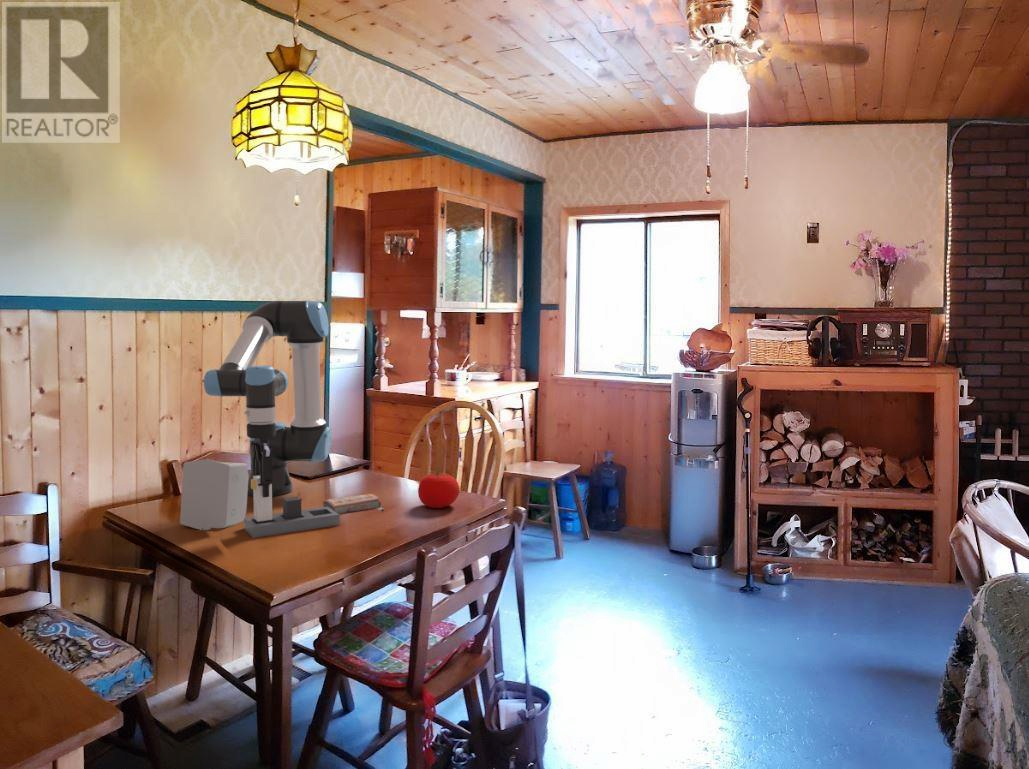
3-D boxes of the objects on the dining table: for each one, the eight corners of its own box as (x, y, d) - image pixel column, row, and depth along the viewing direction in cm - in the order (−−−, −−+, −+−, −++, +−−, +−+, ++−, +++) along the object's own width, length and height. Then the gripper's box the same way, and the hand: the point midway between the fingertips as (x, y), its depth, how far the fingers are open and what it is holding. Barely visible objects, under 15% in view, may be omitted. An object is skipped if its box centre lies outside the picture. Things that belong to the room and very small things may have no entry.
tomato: (423, 500, 247) (423, 467, 246) (462, 503, 245) (462, 469, 244) (413, 510, 236) (413, 475, 234) (454, 512, 234) (454, 477, 233)
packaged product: (370, 490, 242) (384, 497, 234) (370, 505, 243) (384, 512, 235) (316, 498, 232) (328, 505, 224) (316, 513, 232) (329, 521, 224)
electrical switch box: (255, 525, 225) (258, 458, 226) (225, 532, 211) (229, 460, 211) (211, 521, 228) (215, 455, 229) (179, 528, 214) (183, 457, 215)
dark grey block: (283, 525, 214) (282, 498, 213) (297, 523, 216) (296, 496, 215) (287, 529, 211) (286, 501, 210) (301, 527, 213) (301, 499, 212)
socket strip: (243, 531, 211) (243, 517, 211) (328, 519, 225) (328, 506, 224) (252, 541, 203) (252, 527, 202) (340, 528, 216) (340, 514, 215)
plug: (250, 518, 209) (250, 476, 208) (268, 516, 212) (267, 474, 210) (254, 522, 206) (253, 478, 204) (272, 519, 208) (271, 476, 207)
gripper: (239, 419, 211) (241, 501, 214) (254, 427, 197) (256, 515, 199) (267, 417, 215) (268, 497, 218) (283, 425, 201) (285, 511, 203)
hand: (262, 506), depth 208 cm, fingers closed on plug, 4 cm apart
